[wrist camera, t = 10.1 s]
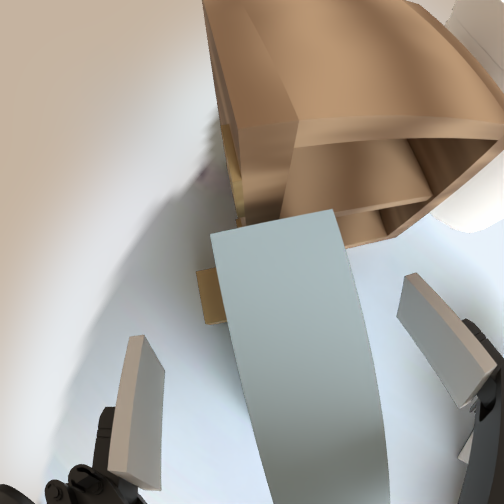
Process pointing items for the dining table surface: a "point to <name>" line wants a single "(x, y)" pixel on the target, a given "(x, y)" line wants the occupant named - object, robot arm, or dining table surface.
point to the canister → (500, 69)
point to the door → (304, 360)
